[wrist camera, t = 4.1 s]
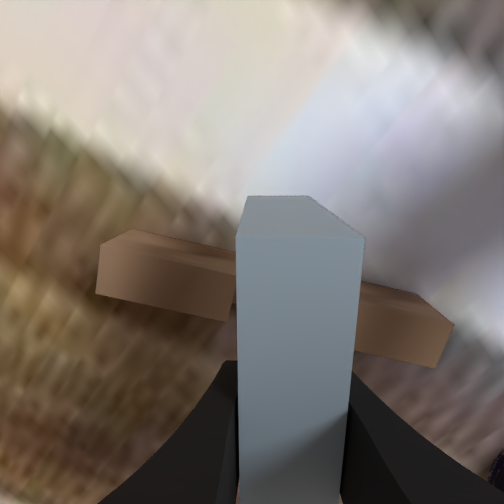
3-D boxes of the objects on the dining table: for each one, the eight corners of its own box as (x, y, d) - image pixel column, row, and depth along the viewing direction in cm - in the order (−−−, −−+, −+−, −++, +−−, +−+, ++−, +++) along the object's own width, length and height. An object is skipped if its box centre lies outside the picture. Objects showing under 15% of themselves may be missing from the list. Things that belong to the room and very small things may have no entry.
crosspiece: (297, 423, 17) (326, 619, 10) (248, 423, 17) (241, 616, 10) (308, 195, 14) (365, 238, 6) (247, 195, 14) (235, 237, 6)
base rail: (416, 294, 20) (454, 325, 16) (402, 330, 21) (435, 368, 17) (132, 228, 19) (100, 244, 15) (127, 268, 20) (95, 293, 16)
